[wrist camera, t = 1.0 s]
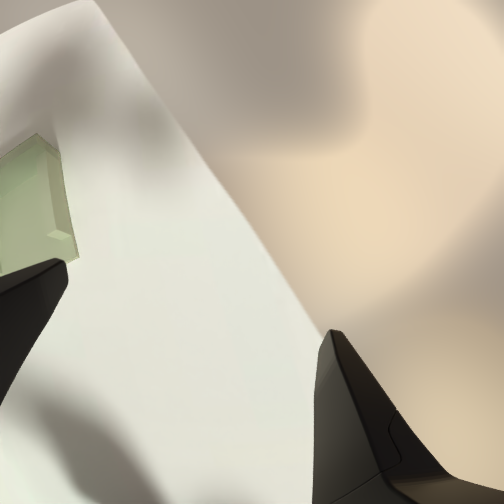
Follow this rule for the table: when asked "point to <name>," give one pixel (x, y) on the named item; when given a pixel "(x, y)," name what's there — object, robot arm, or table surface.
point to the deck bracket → (33, 207)
